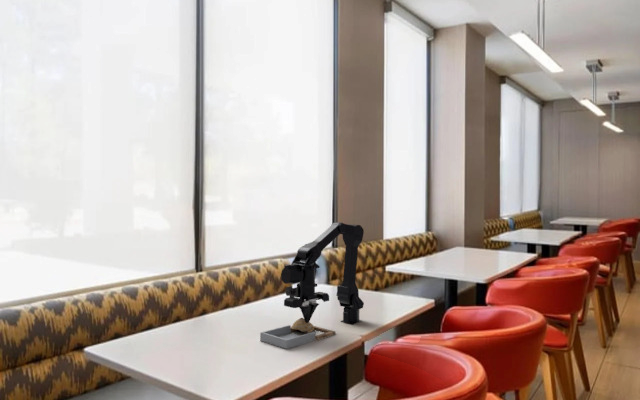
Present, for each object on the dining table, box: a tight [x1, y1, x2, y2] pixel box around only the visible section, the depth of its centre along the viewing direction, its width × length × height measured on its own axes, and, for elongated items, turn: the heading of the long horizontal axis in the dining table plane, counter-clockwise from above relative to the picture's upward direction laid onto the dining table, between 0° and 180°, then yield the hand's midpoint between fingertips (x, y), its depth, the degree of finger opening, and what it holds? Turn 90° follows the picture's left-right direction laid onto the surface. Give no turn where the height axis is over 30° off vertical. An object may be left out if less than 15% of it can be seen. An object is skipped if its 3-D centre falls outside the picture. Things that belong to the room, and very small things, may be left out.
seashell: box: [291, 317, 315, 334], centre depth 186 cm, size 8×6×8 cm
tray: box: [259, 324, 317, 350], centre depth 176 cm, size 14×14×3 cm
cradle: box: [291, 325, 336, 341], centre depth 185 cm, size 9×16×2 cm, turn 46°
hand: (307, 322), depth 183 cm, fingers closed
